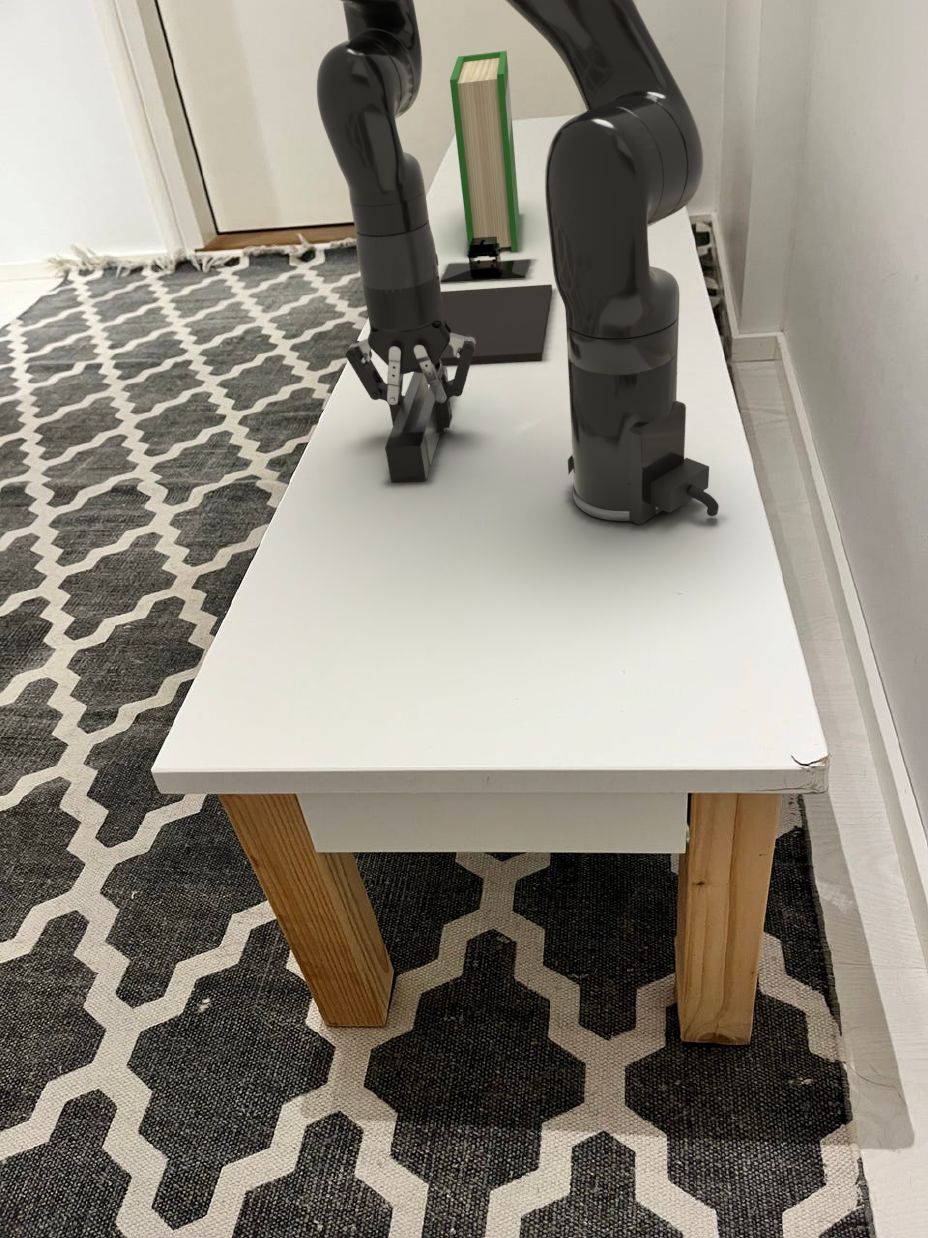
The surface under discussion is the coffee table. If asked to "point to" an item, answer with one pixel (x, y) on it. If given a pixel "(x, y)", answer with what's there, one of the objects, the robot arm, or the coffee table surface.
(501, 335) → the mat
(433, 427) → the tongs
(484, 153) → the hardback book
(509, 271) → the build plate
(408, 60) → the robot arm
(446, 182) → the coffee table surface
